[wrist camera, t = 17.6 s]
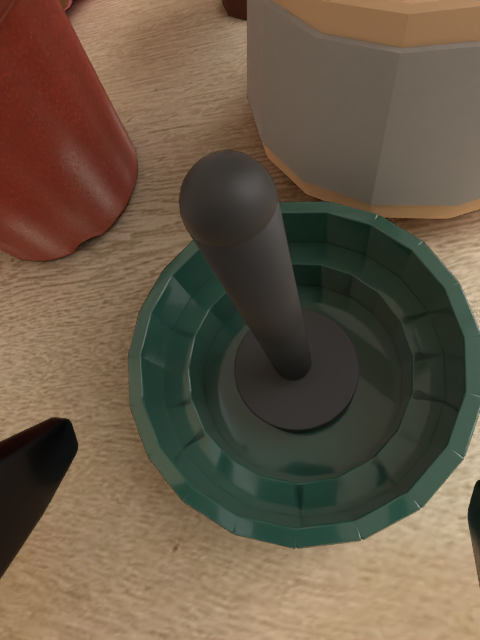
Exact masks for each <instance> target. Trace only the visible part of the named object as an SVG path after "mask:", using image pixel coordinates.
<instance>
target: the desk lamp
mask: <svg viewBox="0 0 480 640" xmlns="http://www.w3.org/2000/svg"><path fill="white" fill-rule="evenodd" d="M247 97H248V101H249V104H250V107H251V110H252V113H253V116H254V120H255V123H256V126H257V129H258V132H259V135H260V139H261V142H262V143H263V146H264V149H265V152H266V155H267V157H268V158H269V159H270V160H271V161H272V162H273V163H274V164H275V165H276V166H277V167H278V168H279V169H280V170H281V171H282V172H283V173H285V174H286V175H287V176H288V177H289V178H290V179H291V180H292V181H293V182H294V183H295V184H296V185H297V186H298V187H299V188H300V189H301V190H302V191H303V192H305V193H306V194H307V195H310V196H313V197H315V198H318V199H321V200H324V201H326V202H334V203H338V204H341V205H345V206H349V207H353V208H356V209H360V210H364V211H368V212H371V213H375V214H378V215H380V216H382V217H384V218H437V219H449V218H453V217H456V216H459V215H463V214H466V213H469V212H473V211H476V210H479V209H480V0H247Z"/></svg>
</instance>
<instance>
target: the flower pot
mask: <svg viewBox="0 0 480 640" xmlns="http://www.w3.org/2000/svg"><path fill="white" fill-rule="evenodd" d="M137 170H138V163H137V156H136V151H135V149H134V147H133V145H132V142H131V140H130V138H129V136H128V134H127V132H126V130H125V129H124V127H123V125H122V123H121V121H120V119H119V117H118V115H117V113H116V111H115V109H114V107H113V105H112V103H111V101H110V100H109V98H108V96H107V94H106V92H105V90H104V88H103V86H102V84H101V82H100V80H99V78H98V76H97V74H96V72H95V70H94V68H93V66H92V64H91V62H90V60H89V58H88V56H87V54H86V52H85V50H84V49H83V47H82V45H81V43H80V41H79V39H78V37H77V35H76V33H75V31H74V29H73V27H72V25H71V23H70V21H69V19H68V17H67V15H66V13H65V11H64V9H63V7H62V5H61V3H60V1H59V0H0V250H2V251H4V252H6V253H8V254H9V255H12V256H14V257H17V258H19V259H24V260H30V261H46V260H52V259H57V258H61V257H64V256H67V255H70V254H72V253H74V252H75V251H76V249H77V247H78V246H79V245H80V244H81V243H82V242H84V241H86V240H88V239H90V238H93V237H96V236H101V235H102V234H103V233H104V232H105V231H106V230H107V229H109V228H110V227H111V226H112V224H113V223H114V222H115V221H116V220H117V218H118V217H119V216H120V214H121V213H122V211H123V210H124V208H125V206H126V205H127V203H128V201H129V199H130V196H131V194H132V192H133V189H134V186H135V182H136V177H137Z"/></svg>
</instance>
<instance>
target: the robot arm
mask: <svg viewBox="0 0 480 640" xmlns="http://www.w3.org/2000/svg"><path fill="white" fill-rule="evenodd" d="M77 450H78V442H77V438H76V435H75V432H74V429H73V426H72V423H71V421H70V420H69V419H66V418H59V417H52V418H50V419H47V420H45V421H43V422H41V423H39V424H37V425H35V426H33V427H30V428H28V429H26V430H24V431H22V432H20V433H18V434H15V435H13V436H11V437H9V438H7V439H5V440H3V441H0V579H1V577H2V576H3V574H4V573H5V571H6V570H7V568H8V567H9V565H10V564H11V562H12V561H13V559H14V558H15V556H16V555H17V553H18V552H19V550H20V549H21V547H22V546H23V544H24V543H25V541H26V540H27V538H28V537H29V535H30V534H31V532H32V531H33V529H34V528H35V526H36V525H37V523H38V521H39V520H40V518H41V517H42V515H43V514H44V512H45V510H46V509H47V507H48V505H49V503H50V502H51V500H52V498H53V496H54V494H55V492H56V490H57V489H58V487H59V485H60V483H61V481H62V479H63V478H64V476H65V474H66V472H67V470H68V468H69V467H70V465H71V463H72V461H73V459H74V457H75V456H76V453H77ZM468 524H469V530H470V535H471V541H472V546H473V552H474V558H475V563H476V569H477V575H478V580H479V586H480V480H478V481H477V482H476V484H475V487H474V490H473V494H472V497H471V501H470V504H469V508H468Z"/></svg>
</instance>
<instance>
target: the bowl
mask: <svg viewBox="0 0 480 640" xmlns="http://www.w3.org/2000/svg"><path fill="white" fill-rule="evenodd" d="M279 204H280V209H281V214H282V218H283V223H284V228H285V233H286V238H287V243H288V248H289V253H290V257H291V262H292V267H293V272H294V277H295V282H296V287H297V291H298V296H299V301H300V306H301V309H309V310H313V311H316V312H319V313H322V314H324V315H326V316H328V317H330V318H331V319H333V320H334V321H336V322H337V323H338V324H339V325H340V326H341V327H342V328H343V329H344V330H345V331H346V332H347V334H348V335H349V337H350V338H351V340H352V342H353V344H354V346H355V348H356V351H357V355H358V360H359V380H358V384H357V388H356V391H355V394H354V396H353V399H352V401H351V403H350V405H349V407H348V408H347V410H346V411H345V412H344V413H343V415H342V416H341V417H340V418H339V419H337V420H336V421H335V422H334V423H332V424H331V425H329V426H327V427H325V428H323V429H320V430H318V431H314V432H309V433H291V432H286V431H283V430H280V429H277V428H275V427H273V426H271V425H269V424H268V423H266V422H264V421H262V420H261V419H260V418H258V417H257V416H256V415H255V414H254V413H252V412H251V410H250V409H249V408H248V407H247V406H246V404H245V403H244V401H243V400H242V398H241V396H240V394H239V392H238V389H237V385H236V381H235V373H234V366H235V358H236V353H237V351H238V348H239V345H240V343H241V341H242V339H243V338H244V336H245V335H246V333H247V332H248V331H249V330H250V328H249V327H248V325H247V324H246V322H245V320H244V319H243V317H242V316H241V314H240V313H239V311H238V309H237V308H236V306H235V305H234V303H233V302H232V300H231V298H230V297H229V295H228V294H227V292H226V291H225V289H224V287H223V286H222V284H221V283H220V281H219V280H218V278H217V276H216V275H215V273H214V272H213V270H212V269H211V267H210V265H209V264H208V262H207V261H206V259H205V258H204V256H203V254H202V253H201V251H200V250H199V248H198V247H197V245H196V243H195V242H194V240H193V241H192V242H191V243H190V244H189V245H188V246H187V247H186V248H185V249H184V250H183V251H182V252H181V253H180V254H179V255H178V256H177V257H176V258H175V259H174V260H173V261H172V262H171V263H170V264H169V265H168V266H166V267H165V268H164V271H162V273H161V274H160V276H159V278H158V280H157V281H156V283H155V285H154V287H153V288H152V290H151V292H150V293H149V295H148V297H147V299H146V300H145V302H144V304H143V306H142V307H141V309H140V311H139V314H138V318H137V322H136V326H135V330H134V334H133V338H132V342H131V346H130V350H129V354H128V373H129V398H130V409H131V412H132V415H133V417H134V420H135V423H136V426H137V428H138V431H139V434H140V437H141V440H142V442H143V445H144V448H145V451H146V453H147V456H149V457H148V458H149V459H150V461H151V462H152V463H153V464H154V466H155V467H156V468H157V470H158V471H159V472H160V473H161V475H162V476H163V477H164V479H165V480H166V481H167V482H168V484H169V485H170V486H171V487H172V489H173V490H174V491H175V493H176V494H177V495H178V496H179V498H180V499H181V500H182V501H183V502H184V503H185V504H187V505H189V506H190V507H192V508H193V509H195V510H196V511H198V512H199V513H201V514H202V515H204V516H206V517H207V518H209V519H210V520H212V521H213V522H215V523H216V524H218V525H220V526H221V527H223V528H224V529H226V530H227V531H229V532H230V533H232V534H234V535H237V536H241V537H246V538H250V539H254V540H258V541H263V542H267V543H271V544H276V545H280V546H284V547H288V548H293V549H296V548H297V549H301V548H309V547H317V546H325V545H333V544H341V543H349V542H356V541H361V539H362V540H365V539H367V538H368V537H370V536H372V535H374V534H376V533H378V532H380V531H381V530H383V529H385V528H387V527H389V526H391V525H393V524H394V523H396V522H398V521H400V520H402V519H404V518H406V517H407V516H409V515H411V514H413V513H415V512H417V511H419V510H420V509H421V508H423V507H424V506H425V504H426V503H427V502H428V501H429V500H430V499H431V497H432V496H433V495H434V494H435V493H436V491H437V490H438V489H439V488H440V487H441V486H442V484H443V483H444V482H445V481H446V480H447V479H448V477H449V476H450V475H451V474H452V473H453V471H454V470H455V469H456V468H457V467H458V466H459V464H460V463H461V462H462V461H463V459H464V458H463V457H465V455H466V452H467V449H468V446H469V443H470V441H471V438H472V435H473V432H474V429H475V426H476V423H477V420H478V417H479V414H480V330H479V327H478V325H477V322H476V320H475V318H474V315H473V313H472V310H471V308H470V305H469V303H468V301H467V298H466V296H465V293H464V291H463V289H462V286H461V284H459V281H458V280H457V279H456V278H455V277H454V275H453V274H452V273H451V272H450V271H449V270H448V269H447V267H446V266H445V265H444V264H443V263H442V262H441V261H440V260H439V258H438V257H437V256H436V255H435V254H434V253H433V252H432V250H431V249H430V248H429V247H428V246H427V245H426V244H425V243H424V242H423V241H422V240H420V239H418V238H417V237H415V236H413V235H412V234H410V233H408V232H407V231H405V230H403V229H402V228H400V227H399V226H397V225H395V224H394V223H392V222H390V221H389V220H387V219H385V218H384V217H382V216H380V215H378V214H375V213H371V212H368V211H364V210H360V209H356V208H353V207H349V206H345V205H341V204H338V203H334V202H282V203H281V202H279Z"/></svg>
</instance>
